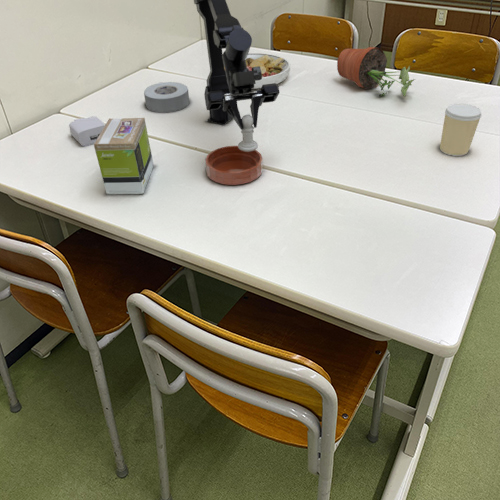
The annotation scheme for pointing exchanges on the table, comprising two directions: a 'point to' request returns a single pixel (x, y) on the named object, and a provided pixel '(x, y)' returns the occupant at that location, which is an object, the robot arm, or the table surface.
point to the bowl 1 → (268, 68)
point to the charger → (86, 130)
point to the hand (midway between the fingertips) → (248, 128)
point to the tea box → (124, 156)
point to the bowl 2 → (233, 165)
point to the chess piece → (247, 135)
